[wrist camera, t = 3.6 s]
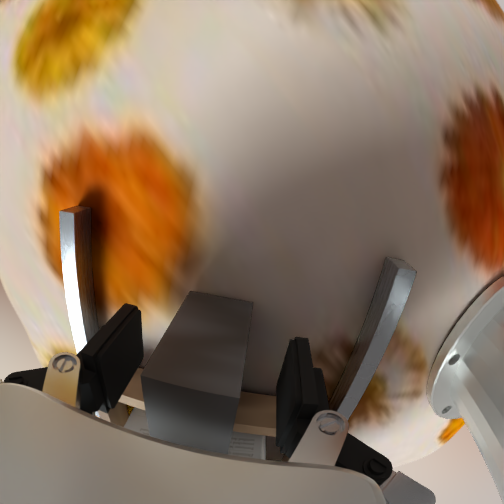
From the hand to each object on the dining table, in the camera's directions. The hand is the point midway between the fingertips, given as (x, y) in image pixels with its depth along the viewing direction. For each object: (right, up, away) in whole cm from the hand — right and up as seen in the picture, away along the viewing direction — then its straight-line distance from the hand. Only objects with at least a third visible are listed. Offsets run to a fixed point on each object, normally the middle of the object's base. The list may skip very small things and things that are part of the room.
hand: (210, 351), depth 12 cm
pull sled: (-1, -7, +4) cm, 8 cm away
